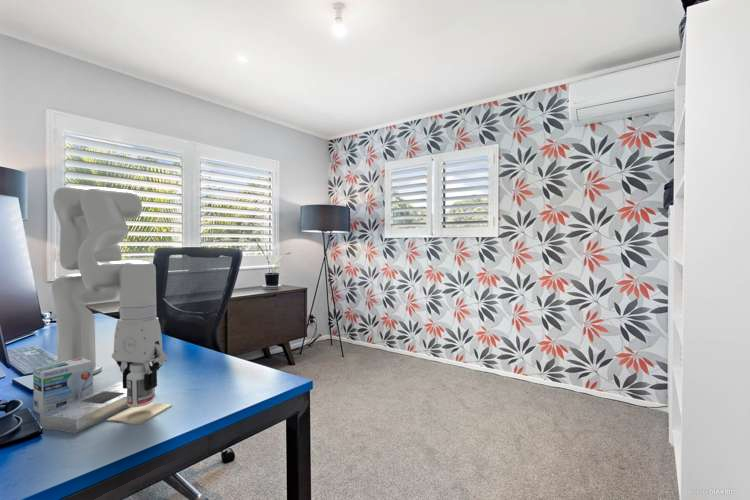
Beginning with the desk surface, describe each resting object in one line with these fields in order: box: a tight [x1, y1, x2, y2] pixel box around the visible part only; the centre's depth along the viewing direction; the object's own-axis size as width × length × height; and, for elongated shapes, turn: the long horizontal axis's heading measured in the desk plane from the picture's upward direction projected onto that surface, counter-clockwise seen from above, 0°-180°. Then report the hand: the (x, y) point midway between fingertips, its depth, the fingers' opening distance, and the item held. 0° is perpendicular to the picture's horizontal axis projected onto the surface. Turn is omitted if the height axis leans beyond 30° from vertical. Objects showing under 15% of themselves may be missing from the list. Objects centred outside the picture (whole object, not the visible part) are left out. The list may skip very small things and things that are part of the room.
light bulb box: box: [32, 357, 94, 415], centre depth 97 cm, size 11×7×11 cm, turn 148°
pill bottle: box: [127, 363, 154, 408], centre depth 93 cm, size 5×5×10 cm
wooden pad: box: [106, 402, 173, 425], centre depth 93 cm, size 9×10×1 cm
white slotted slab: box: [39, 380, 156, 434], centre depth 95 cm, size 10×22×3 cm, turn 168°
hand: (140, 386), depth 93 cm, fingers closed on pill bottle, 5 cm apart
